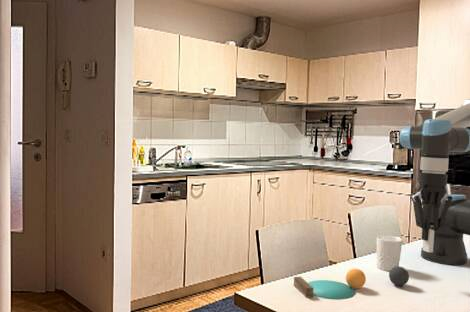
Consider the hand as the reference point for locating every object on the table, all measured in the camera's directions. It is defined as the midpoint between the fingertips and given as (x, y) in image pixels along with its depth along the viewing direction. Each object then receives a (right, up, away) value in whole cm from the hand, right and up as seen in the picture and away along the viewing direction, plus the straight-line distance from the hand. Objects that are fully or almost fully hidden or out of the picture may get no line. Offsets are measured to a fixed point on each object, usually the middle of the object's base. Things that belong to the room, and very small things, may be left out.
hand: (427, 251), depth 135 cm
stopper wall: (-38, -9, -9) cm, 40 cm away
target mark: (-31, -9, -7) cm, 33 cm away
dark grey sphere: (-9, -7, -2) cm, 12 cm away
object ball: (-23, -7, -5) cm, 24 cm away
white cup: (-7, -9, +15) cm, 18 cm away
